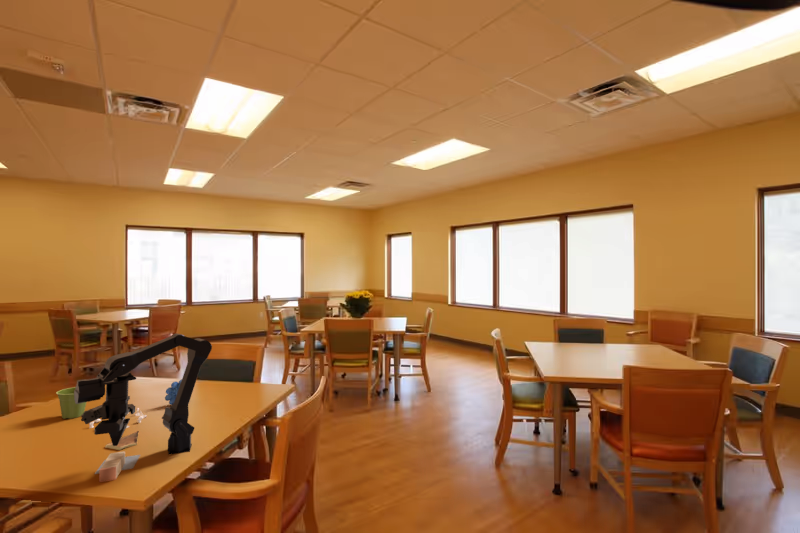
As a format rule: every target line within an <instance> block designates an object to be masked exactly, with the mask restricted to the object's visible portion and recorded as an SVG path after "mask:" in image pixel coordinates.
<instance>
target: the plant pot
mask: <svg viewBox="0 0 800 533" xmlns="http://www.w3.org/2000/svg"><path fill="white" fill-rule="evenodd" d="M75 388H76V386H74V387H68V388H63V389H61V390H58V391H56V392H55V394H56V395H57V397H58V401H59V405H60V406H59V407H60V411H61V412H60V413H61V418H62V419H65V420H66V419H76V418H79V417H81V416H82V414H83V413H84V412H85V411H86V406H87V402H84V403H79V404H76V403H75V399H74V390H75Z"/></svg>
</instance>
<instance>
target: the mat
mask: <svg viewBox="0 0 800 533" xmlns="http://www.w3.org/2000/svg"><path fill="white" fill-rule="evenodd" d="M140 457H141V454H136V455H127V456H125V464H124V466H123V468H122V470H121V471H126V470H131V469H134V468H135V465H136V464H137V462H138V461H139V458H140ZM105 461H106V459H104V460H103V462H102V463H101V464H100V466H99V467H98V468H97V470H96V471H95V473H94V475H98V474H99V470H100V469H101V467H102V465H103V464H104V462H105Z"/></svg>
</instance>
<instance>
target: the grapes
mask: <svg viewBox="0 0 800 533" xmlns="http://www.w3.org/2000/svg"><path fill="white" fill-rule="evenodd" d="M181 381H182V379H180V380H179V381H173V382H172V383H171V384H170V387H168V388H166V390H165V394H166V395H165V397H164V400H165V401H168V404H169V405H170V406H172V404H173V403H174V401H175V399H176V396H177V393H178V390H179V387H180V384H181Z"/></svg>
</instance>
